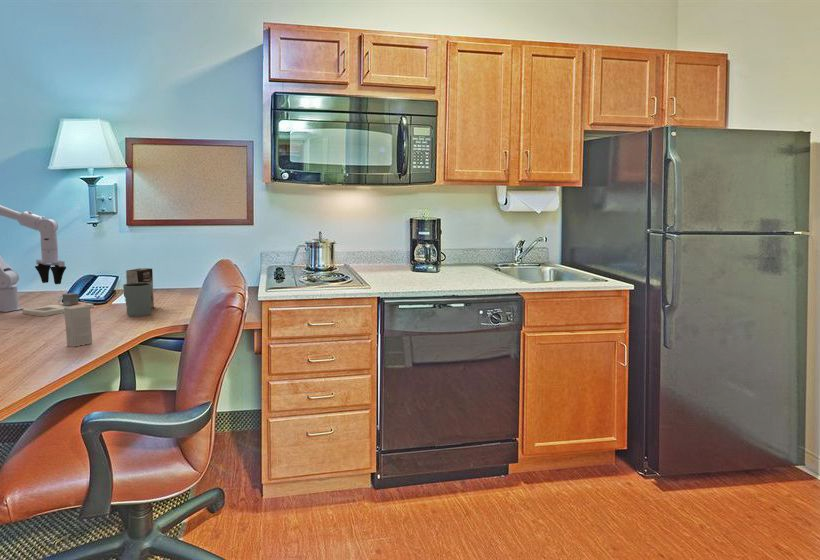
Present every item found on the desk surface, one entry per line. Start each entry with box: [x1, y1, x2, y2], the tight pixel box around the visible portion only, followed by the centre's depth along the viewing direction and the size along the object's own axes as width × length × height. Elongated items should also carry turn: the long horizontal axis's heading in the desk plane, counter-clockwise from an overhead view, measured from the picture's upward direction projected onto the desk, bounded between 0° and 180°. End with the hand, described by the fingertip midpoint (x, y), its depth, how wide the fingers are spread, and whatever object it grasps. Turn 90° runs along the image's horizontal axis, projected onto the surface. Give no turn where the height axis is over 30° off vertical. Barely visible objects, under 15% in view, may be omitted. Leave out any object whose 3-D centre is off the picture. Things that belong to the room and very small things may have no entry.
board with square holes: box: [21, 301, 94, 317], centre depth 259 cm, size 12×22×2 cm, turn 154°
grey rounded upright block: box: [122, 282, 152, 318], centre depth 252 cm, size 10×10×12 cm
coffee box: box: [125, 267, 155, 309], centre depth 264 cm, size 9×6×16 cm
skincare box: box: [64, 305, 93, 348], centre depth 202 cm, size 6×4×12 cm
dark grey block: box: [61, 292, 80, 306], centre depth 263 cm, size 4×4×6 cm
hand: (51, 283), depth 261 cm, fingers open, 7 cm apart
